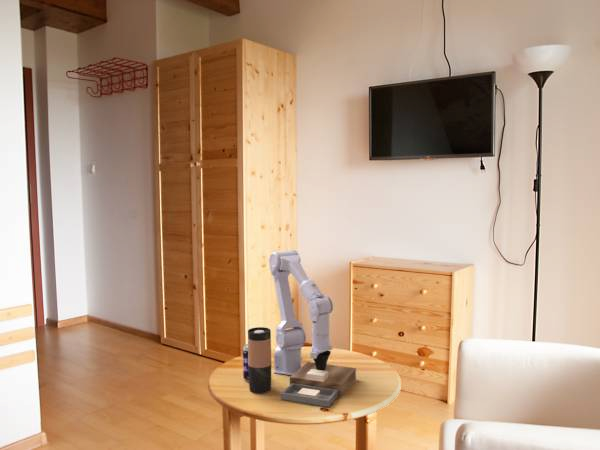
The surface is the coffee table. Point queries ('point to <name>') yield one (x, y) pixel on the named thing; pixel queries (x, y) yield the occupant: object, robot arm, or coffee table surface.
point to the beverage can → (245, 363)
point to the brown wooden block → (337, 378)
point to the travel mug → (259, 359)
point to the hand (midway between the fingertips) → (321, 373)
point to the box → (323, 401)
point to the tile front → (309, 392)
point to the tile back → (317, 375)
